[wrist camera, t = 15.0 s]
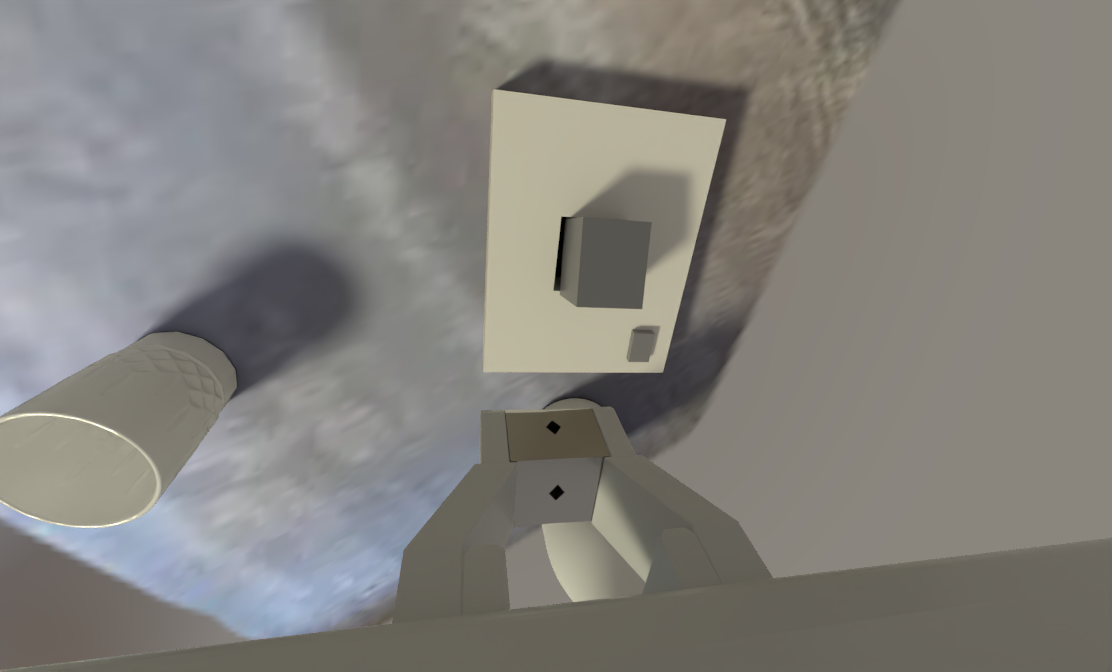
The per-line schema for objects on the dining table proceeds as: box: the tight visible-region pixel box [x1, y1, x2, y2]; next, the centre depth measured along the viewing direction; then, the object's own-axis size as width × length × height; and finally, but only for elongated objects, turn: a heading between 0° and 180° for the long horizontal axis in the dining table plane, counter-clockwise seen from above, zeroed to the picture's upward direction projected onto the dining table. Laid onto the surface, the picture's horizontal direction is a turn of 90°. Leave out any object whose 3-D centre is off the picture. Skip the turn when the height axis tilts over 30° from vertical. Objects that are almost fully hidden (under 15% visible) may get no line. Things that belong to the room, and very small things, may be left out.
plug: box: [560, 217, 652, 309], centre depth 28 cm, size 5×4×7 cm
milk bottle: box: [542, 398, 645, 602], centre depth 30 cm, size 8×8×20 cm
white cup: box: [0, 332, 237, 528], centre depth 26 cm, size 8×8×10 cm
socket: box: [483, 89, 726, 373], centre depth 30 cm, size 18×14×4 cm
